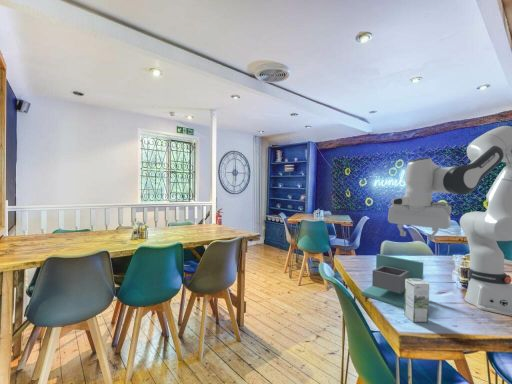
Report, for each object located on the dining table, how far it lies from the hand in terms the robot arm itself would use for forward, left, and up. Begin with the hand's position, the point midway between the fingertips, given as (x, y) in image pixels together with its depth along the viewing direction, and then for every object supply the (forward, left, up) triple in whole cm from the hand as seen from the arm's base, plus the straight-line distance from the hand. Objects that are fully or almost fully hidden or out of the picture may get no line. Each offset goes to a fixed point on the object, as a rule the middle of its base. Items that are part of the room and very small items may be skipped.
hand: (416, 237), depth 100 cm
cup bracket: (+13, -15, -30) cm, 36 cm away
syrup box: (-1, +1, -30) cm, 30 cm away
